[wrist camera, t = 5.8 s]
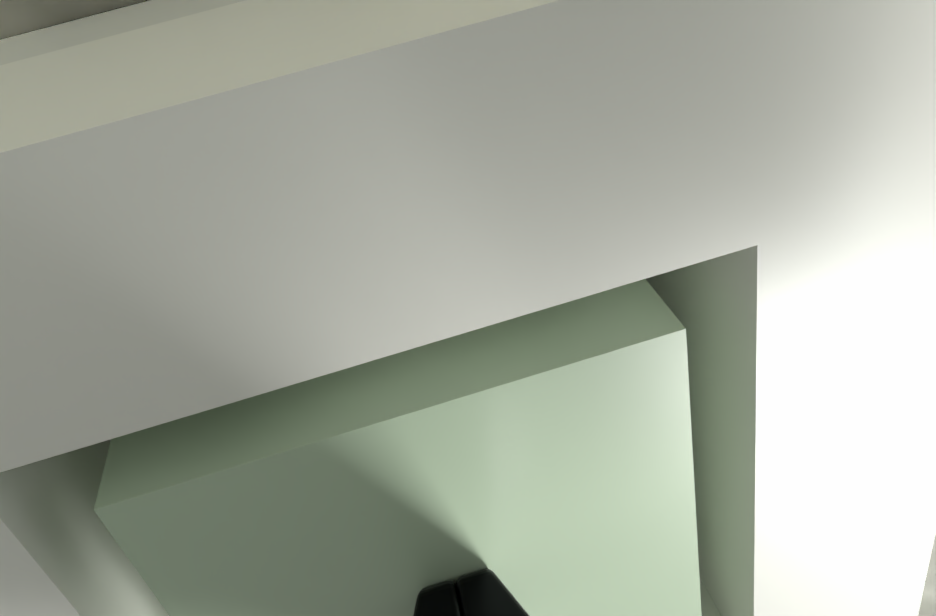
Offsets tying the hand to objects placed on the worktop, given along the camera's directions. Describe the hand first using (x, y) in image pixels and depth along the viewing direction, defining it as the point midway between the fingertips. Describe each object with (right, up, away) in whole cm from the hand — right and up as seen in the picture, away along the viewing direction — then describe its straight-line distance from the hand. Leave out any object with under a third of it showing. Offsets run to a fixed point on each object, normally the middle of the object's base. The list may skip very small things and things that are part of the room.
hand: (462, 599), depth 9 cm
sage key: (-1, +1, +2) cm, 3 cm away
